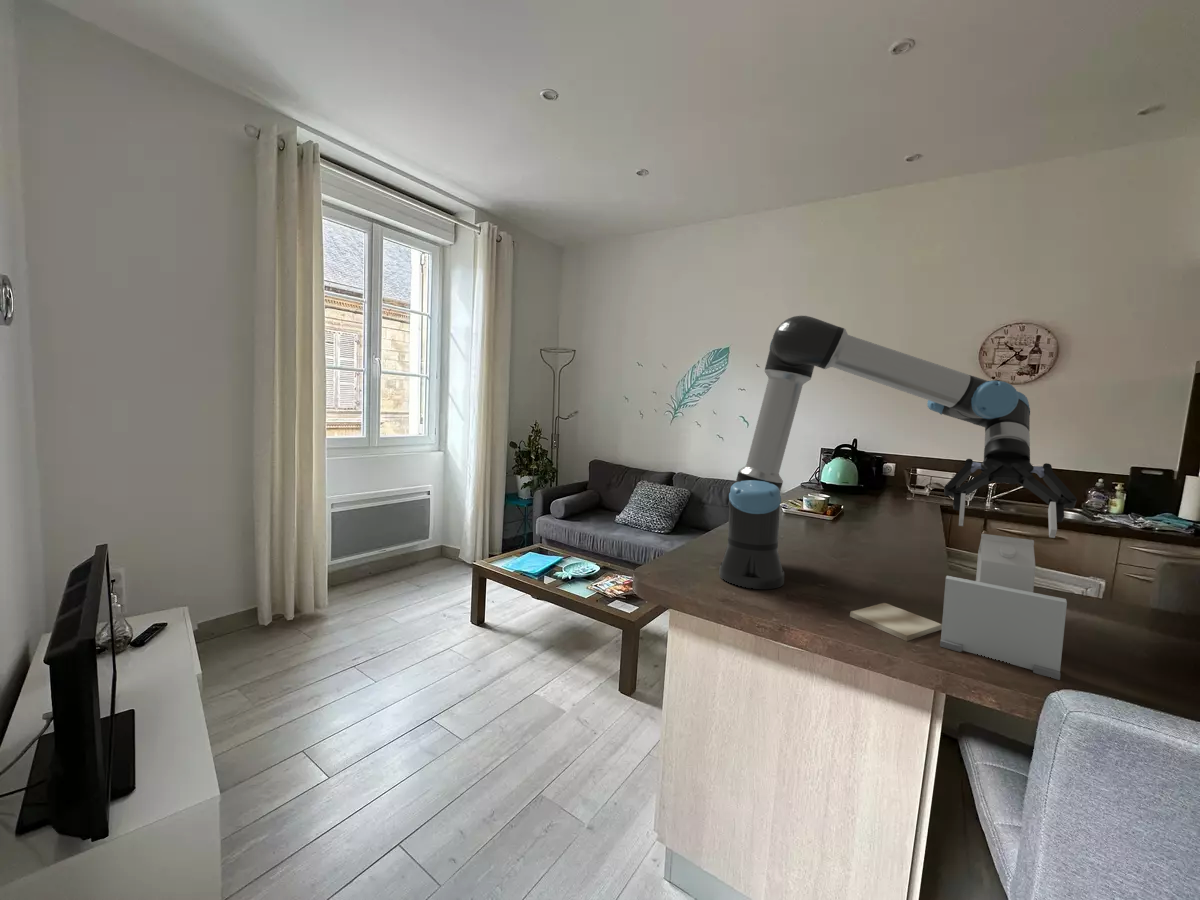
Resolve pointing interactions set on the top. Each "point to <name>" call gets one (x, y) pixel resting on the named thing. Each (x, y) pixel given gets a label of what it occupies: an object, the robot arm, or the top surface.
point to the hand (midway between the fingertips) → (1004, 527)
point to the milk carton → (1006, 562)
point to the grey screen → (1004, 624)
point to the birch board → (896, 621)
